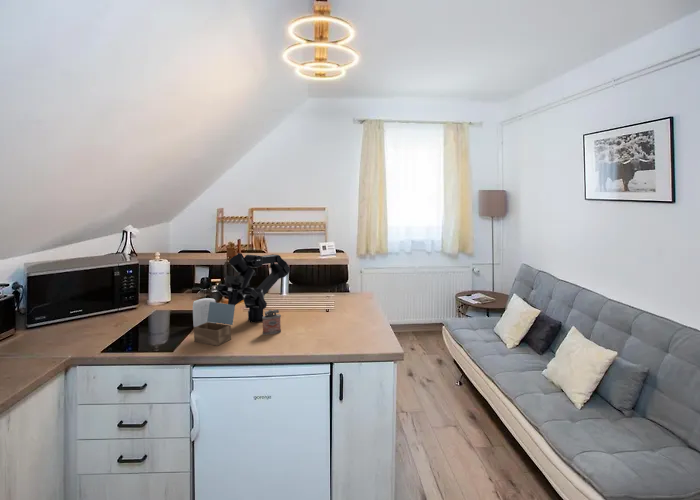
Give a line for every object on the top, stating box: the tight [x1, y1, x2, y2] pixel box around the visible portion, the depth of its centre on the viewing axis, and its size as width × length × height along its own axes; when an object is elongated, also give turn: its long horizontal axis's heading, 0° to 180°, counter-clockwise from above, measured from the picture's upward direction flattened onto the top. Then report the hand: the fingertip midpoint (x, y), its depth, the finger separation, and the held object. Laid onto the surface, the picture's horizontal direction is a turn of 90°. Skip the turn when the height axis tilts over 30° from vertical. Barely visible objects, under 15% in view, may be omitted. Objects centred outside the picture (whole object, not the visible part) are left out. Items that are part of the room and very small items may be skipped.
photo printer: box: [192, 297, 217, 328], centre depth 193 cm, size 10×4×12 cm, turn 123°
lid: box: [207, 301, 236, 326], centre depth 177 cm, size 8×12×1 cm
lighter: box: [262, 309, 282, 336], centre depth 182 cm, size 8×3×10 cm, turn 117°
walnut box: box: [193, 322, 232, 347], centre depth 173 cm, size 8×12×6 cm, turn 67°
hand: (228, 308), depth 181 cm, fingers closed
